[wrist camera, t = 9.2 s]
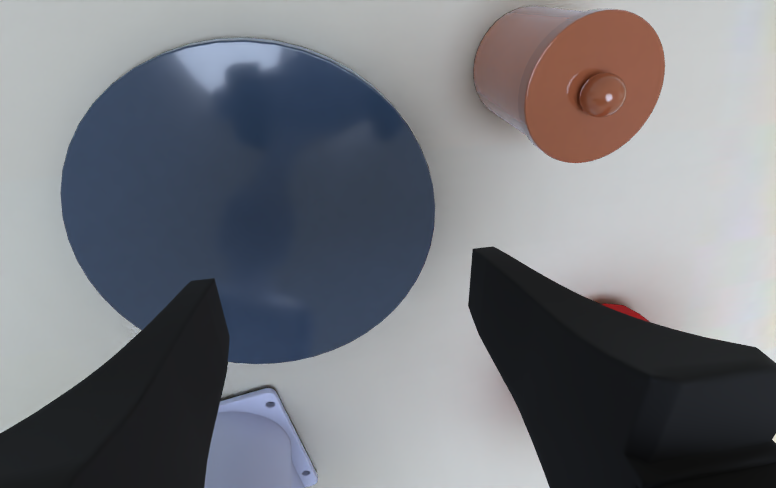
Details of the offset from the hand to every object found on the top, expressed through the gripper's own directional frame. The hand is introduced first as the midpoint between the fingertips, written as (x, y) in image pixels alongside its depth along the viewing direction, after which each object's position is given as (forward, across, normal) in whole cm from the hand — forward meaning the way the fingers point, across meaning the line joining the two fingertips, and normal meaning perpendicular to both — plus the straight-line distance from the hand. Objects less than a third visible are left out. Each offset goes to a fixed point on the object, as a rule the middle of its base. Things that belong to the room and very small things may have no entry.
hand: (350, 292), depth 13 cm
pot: (+9, -9, -4) cm, 13 cm away
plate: (+9, +3, +2) cm, 10 cm away
